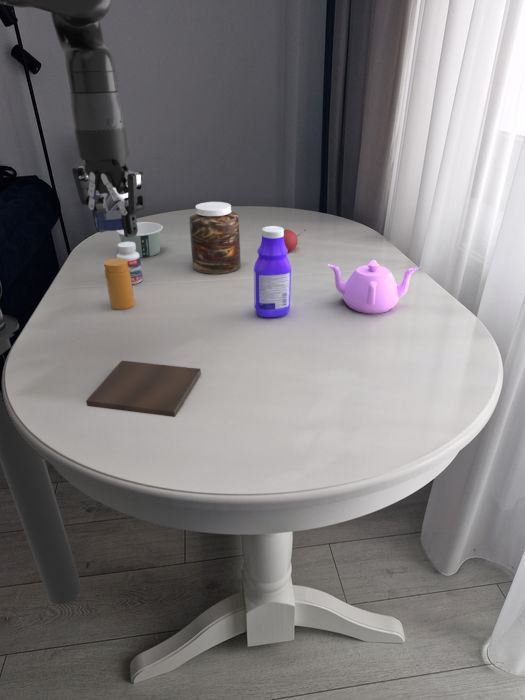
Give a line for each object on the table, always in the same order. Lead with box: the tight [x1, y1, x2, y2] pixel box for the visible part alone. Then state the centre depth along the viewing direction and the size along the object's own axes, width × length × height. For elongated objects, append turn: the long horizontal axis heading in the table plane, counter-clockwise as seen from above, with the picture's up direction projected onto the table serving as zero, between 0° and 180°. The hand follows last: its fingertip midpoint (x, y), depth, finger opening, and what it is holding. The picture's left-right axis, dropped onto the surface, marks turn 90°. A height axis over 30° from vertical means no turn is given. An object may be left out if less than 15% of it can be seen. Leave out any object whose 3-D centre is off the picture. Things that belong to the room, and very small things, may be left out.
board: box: [85, 360, 202, 418], centre depth 80 cm, size 14×12×1 cm
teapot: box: [327, 259, 419, 314], centre depth 105 cm, size 12×14×9 cm
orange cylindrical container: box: [103, 257, 136, 311], centre depth 106 cm, size 5×5×10 cm
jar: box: [189, 201, 241, 275], centre depth 124 cm, size 12×12×15 cm
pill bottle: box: [115, 242, 143, 285], centre depth 118 cm, size 5×5×9 cm
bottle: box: [253, 225, 292, 318], centre depth 100 cm, size 7×6×17 cm
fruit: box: [284, 229, 306, 253], centre depth 137 cm, size 6×6×8 cm
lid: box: [95, 209, 123, 232], centre depth 85 cm, size 6×6×2 cm
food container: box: [116, 221, 164, 259], centre depth 137 cm, size 12×12×6 cm
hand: (116, 233), depth 86 cm, fingers closed on lid, 6 cm apart
